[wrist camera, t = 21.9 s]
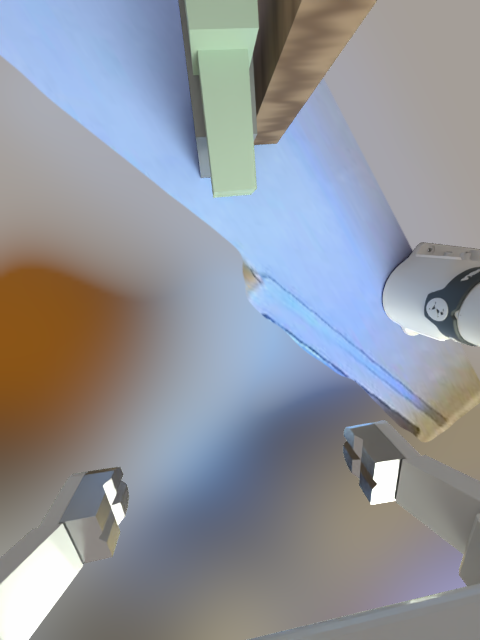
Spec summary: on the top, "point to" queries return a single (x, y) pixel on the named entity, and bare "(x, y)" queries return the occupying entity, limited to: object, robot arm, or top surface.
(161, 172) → the top surface
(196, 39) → the green handle
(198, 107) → the gray block
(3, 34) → the top surface
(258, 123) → the walnut stand
